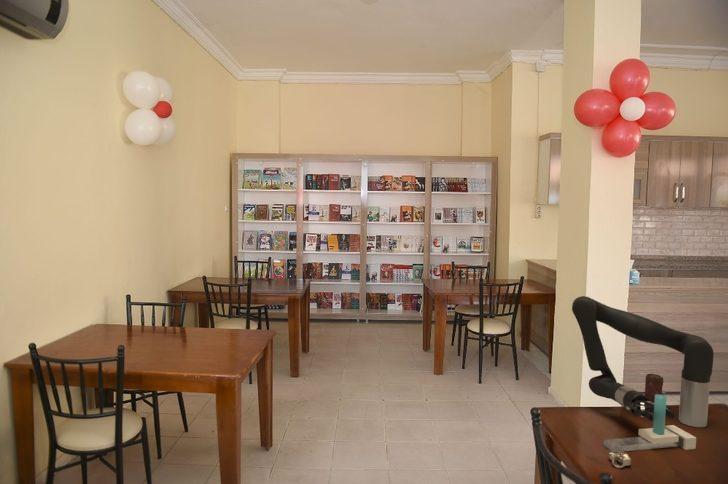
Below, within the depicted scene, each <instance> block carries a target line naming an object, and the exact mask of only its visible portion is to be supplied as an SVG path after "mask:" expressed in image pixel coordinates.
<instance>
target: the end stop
mask: <svg viewBox="0 0 728 484" xmlns="http://www.w3.org/2000/svg"><path fill="white" fill-rule="evenodd" d="M665 428H666V429H667V430H669V431H671V432H673V433H674V434H676V435H678V436H679V440H678V441H679V443H678V447H680V448H682V449H683V450H685V451H689V450H697V449H696V448H697V447H696V446H697V437H696V436H695V435H692V434H691V433H689V432H687V431H685V430H683V429H682V428H680V427H678V426H676V425H674V424H671V425H670V424H669V425H665Z"/></svg>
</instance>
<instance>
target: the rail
mask: <svg viewBox="0 0 728 484" xmlns="http://www.w3.org/2000/svg"><path fill="white" fill-rule="evenodd" d="M678 443H679V441H678V442H669V443H657V444H652V443H651V442H649V441H648V440H646V439H645V438H643V437H641V436H634V437H632V436H631V437H622V438H609V439H603V446H604V447H605V448H606V449H608V450H609V451H610V452H613V453H618V452H620V451H622V450H624V451H625V452H629V451H641V450H644V451H645V450H652V449H653V450H655V449H663V448H666V449H667V448H679V446H678Z"/></svg>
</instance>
